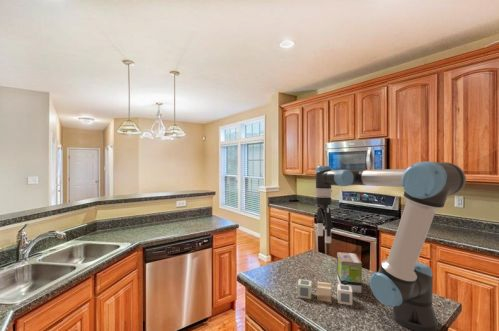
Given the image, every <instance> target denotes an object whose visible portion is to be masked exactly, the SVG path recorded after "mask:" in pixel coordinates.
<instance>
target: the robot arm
mask: <svg viewBox="0 0 499 331" xmlns="http://www.w3.org/2000/svg"><path fill="white" fill-rule="evenodd" d="M466 182H467V178H466V174H465V172H464V171H463V169H462V168H460V167H459V166H458V165H456V164H455V163H452V162H444V161H441V162H440V161H439V162H438V161H437V162H436V161H431V160H428V161H427V160H425V161H420V162H416V163H413V164H411V165H409V166H408V167H407V168H396V169H395V168H394V169H393V168H392V169H391V168H390V169H389V168H388V169H387V168H386V169H385V168H384V169H381V168H380V169H332V166H330V165H318V166H316V167H315V196H316V197H315V203H316V205H317V211H316V217H315V218H316V219H315V221H316V224H317V225H316V226H317V229H316V230H317V237H323V236H324V243H325V244H332V230H333V229H334V226H333V220H332V213H331V208H330V207H329V206H330V205H332V204H333V203H332V192H333V189H332V186H337V187H348V186H374V187H387V188H388V187H392V188H403V190H404V191H403V192H404V193H403V194H402V195H403V198H404V199H405V201H406V202H405V205H404V208H403V212H402V214H401V218H400V221H399V225H398V227H397V229H396V233H395V235H394V239H393V242H392V245H391V248H390V251H389V253H388V257H387V258H386V259H383V260H382V261H381V263H380V266H379V269H378V271H376V272H374V273H373V274H372V275H371V276H370V278H369V286H370V290H371V291H372V294H373V296H374V297H375V298H376V300H378V301H379V303H381V304H383V305H384V306H386V307H390V308H391V307H392V318H393V319H394V321H395V322H397V323H398V324H400V325H401V326H403V327H405V328H406V329H409V330H411V331H438V330H439V320H438V318H437V316H436V312H435V310H434V307H433V281H434V280H433V279H434V275H433V270H432V268H431V267H430V266H429V265H428V264H426V263H422V262H419V258H420V255H421V252H422V250H423V247H424V244H425V241H426V239H427V235H428V233H429V230H430V228H431V226H432V225H431V224H432V222H433V220H434V217H435V214H436V211H438V210H441V209H443V208H444V207H445V204H446V203H447V202H446V201H447V198H448V197H449V196H454V195H456V194H457V193H459V192H461V191H462V190H463V189H464V188H465V185H466ZM323 224H324V225H323ZM324 226H325V227H324Z"/></svg>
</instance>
